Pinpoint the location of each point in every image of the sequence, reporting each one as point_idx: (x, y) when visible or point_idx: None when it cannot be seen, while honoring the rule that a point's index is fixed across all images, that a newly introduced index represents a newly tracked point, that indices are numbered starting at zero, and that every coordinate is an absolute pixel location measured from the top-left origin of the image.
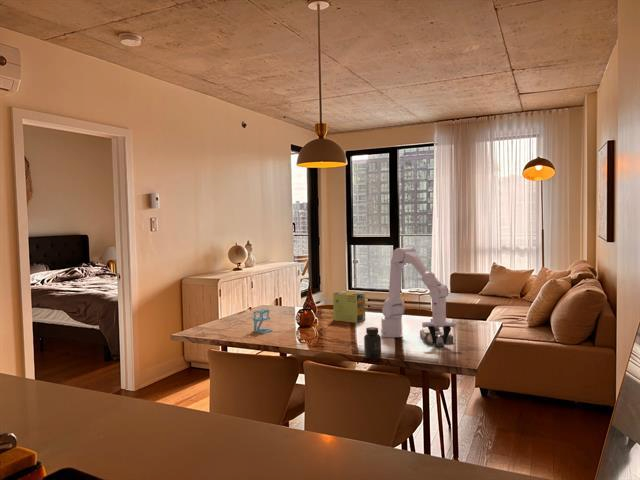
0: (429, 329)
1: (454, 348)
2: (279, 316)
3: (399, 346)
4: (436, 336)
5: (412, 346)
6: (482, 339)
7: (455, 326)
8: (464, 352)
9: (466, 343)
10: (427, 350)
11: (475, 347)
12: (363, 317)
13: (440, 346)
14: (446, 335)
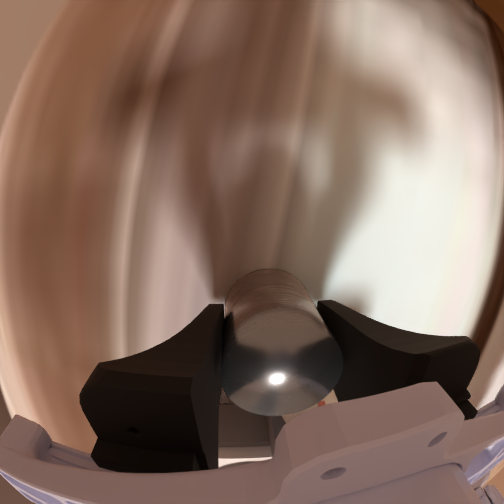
0: (475, 357)
1: (138, 251)
2: (497, 465)
3: (494, 293)
4: (332, 335)
5: (448, 301)
6: (26, 417)
7: (18, 427)
8: (85, 118)
9: (67, 378)
10: (394, 182)
11: (13, 279)
12: None
13: (267, 274)
14: (188, 340)
